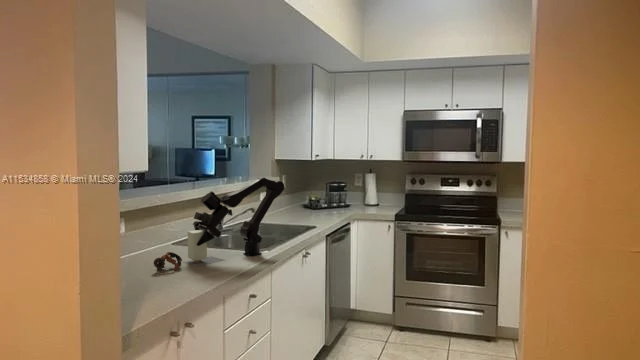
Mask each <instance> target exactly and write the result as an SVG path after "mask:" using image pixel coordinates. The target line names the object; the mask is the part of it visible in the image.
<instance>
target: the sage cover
mask: <svg viewBox="0 0 640 360" xmlns="http://www.w3.org/2000/svg"><path fill="white" fill-rule="evenodd" d="M202 235H203V231H202V230H195V229H194V230H187V258H188V259H190V261H191V260H194V261H195V260H202V259H207V257H208V251H207V250H208V249H207V248H208V247H207V246H208V245H207V243H208V241H207V242H205V243H204V244H202V245H200V246H198V245H197V243H198V241H199V240H200V238H201V237H202Z"/></svg>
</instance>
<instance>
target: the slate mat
mask: <svg viewBox="0 0 640 360" xmlns="http://www.w3.org/2000/svg"><path fill="white" fill-rule="evenodd" d="M223 261H225V259H223V258H219V257H216V256H215V257H214V256H211V255H210V256H207V259H202V260H201V262H200V263H194V260H191V259H190V260H187V261H182V263H184V264H188V265H190V266H193V267H194V266H195V267H202V266H206V265H211V264H215V263H219V262H223Z"/></svg>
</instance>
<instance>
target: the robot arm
mask: <svg viewBox="0 0 640 360" xmlns="http://www.w3.org/2000/svg"><path fill="white" fill-rule="evenodd" d="M261 188H266V189H265V195H264V196H263V199H262V201H261V202H260V204H259V205H258V207H257V208H256V209H255V211H254V214H253V215H252V217H251V218H250V219H249V220H248V221H247V220H244V222H243V224H242V225H241V226H240V230H239V233H240V236H241V237H242V239H243V242H244V241H245V242H244V243H245V245H244V252H243V255H244V256H250V257H254V256H258V255H262V254H263V253H262V252H261V251H260V243H262V240H263V239H262V237H261V236H260V235H259V232H260V224H261V223H262V221H263V219H264V217H265V215H267V213H268V211H269V209H270V208H271V205H272V203H273V202H274V200H276V199H277V198H278V197H279V196H281V194H282V193H283V192H284V190H285V189H286V187H285V183H284V182H283V181H281V180H273V179H268V178H265V177H257V178H256V179H255V180H253V181H251V182H250V183H248V184H247V185H244V186H243V187H242V188H240V189H238V190H236V191H231V192H229V193H226V194H225V195H223V196H222V197H218V196H217V195H216V193H215V192H214V191H209V192H208V193H206V194H205V195H204V196H202V198H201V199H200V203H201V204H203V205H204V206H205V207H206V208H207V209H208V210H209V211H212V212H211V213H207V212H203V213H201V212H198V211H197V212H195V214H194V216H193V220H195V221H194V222H192V226H193V228H194V230H202V231H203V235H202V237H201V238H200V240H199V241H198V243H197V245H198V246H200V245H202V244H204V243H205V242H207V243H208V242H209V241H212V240H213V239H219V238H220V237H221V236H222V232H221V231H220V230H219V229H218V228H217V227H218V226H222V224H223V220H224V219H225V218H226V216H227V215H228V216H233V209H232V208H236V207H237V206H239V204H241V203H242V201H243V200H244V199H245V198H247V197H248V196H250V195H251V194H253V193H254V192H257V191H258V190H259V189H261ZM222 204H223V205H222ZM230 208H231V209H230Z"/></svg>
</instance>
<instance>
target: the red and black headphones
mask: <svg viewBox="0 0 640 360" xmlns="http://www.w3.org/2000/svg"><path fill="white" fill-rule="evenodd" d="M165 261H166V262H167V263H170V264H171V265H174V267H173V271H178V270H179V269H180V268H181V267H182V262H183V258H182V257H181V256H180V255H178V254H177V253H175V252H171V251H167V252H166V253H165V254H163V255H162V256H161V257H156V258H155V259H154V260H153V266H154V267H155V268H156V270H157V271H162V269H163V267H165V265H166V262H165Z"/></svg>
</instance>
